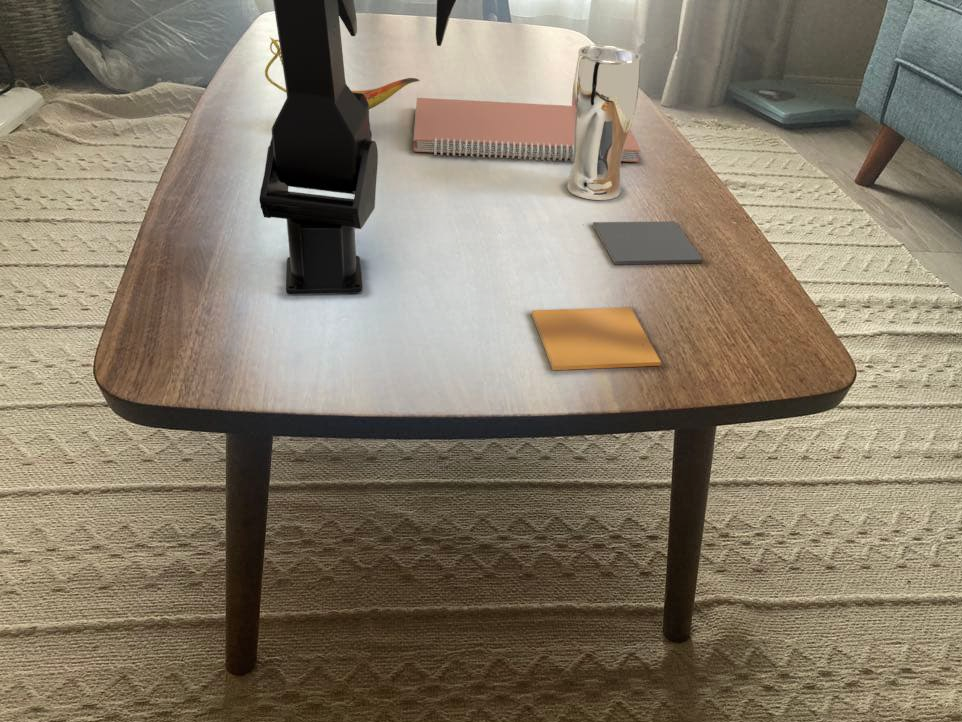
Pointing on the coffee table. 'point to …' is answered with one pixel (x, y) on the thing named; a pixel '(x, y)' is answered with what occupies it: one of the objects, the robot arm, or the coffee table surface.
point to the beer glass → (602, 118)
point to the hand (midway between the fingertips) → (396, 39)
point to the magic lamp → (372, 95)
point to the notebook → (499, 129)
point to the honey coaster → (594, 338)
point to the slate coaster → (646, 243)
